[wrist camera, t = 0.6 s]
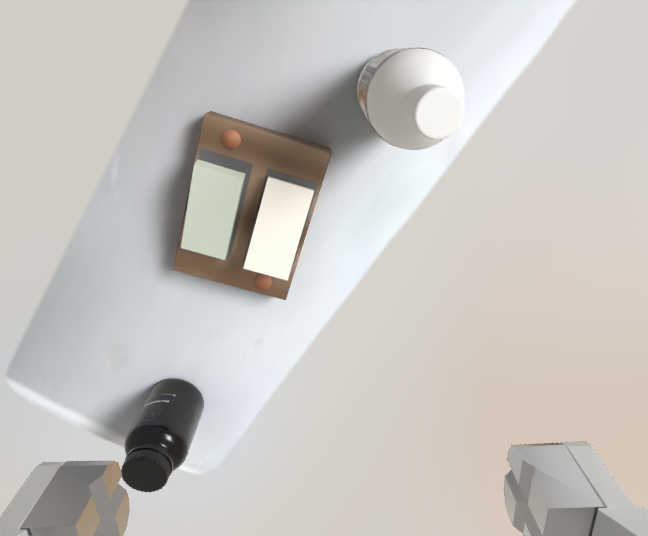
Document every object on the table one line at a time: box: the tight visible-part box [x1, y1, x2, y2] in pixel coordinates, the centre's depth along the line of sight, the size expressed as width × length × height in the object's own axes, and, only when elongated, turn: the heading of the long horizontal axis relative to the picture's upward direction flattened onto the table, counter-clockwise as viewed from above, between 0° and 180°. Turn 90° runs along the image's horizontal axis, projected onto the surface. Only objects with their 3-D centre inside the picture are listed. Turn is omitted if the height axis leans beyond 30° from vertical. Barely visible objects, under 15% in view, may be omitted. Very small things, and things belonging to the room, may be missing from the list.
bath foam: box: [357, 48, 465, 150], centre depth 37 cm, size 7×7×20 cm
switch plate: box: [173, 111, 331, 300], centre depth 49 cm, size 16×12×4 cm
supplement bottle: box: [121, 379, 204, 492], centre depth 55 cm, size 7×7×12 cm
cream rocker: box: [244, 176, 314, 281], centre depth 46 cm, size 9×4×1 cm, turn 163°
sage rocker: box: [181, 160, 246, 260], centre depth 46 cm, size 9×4×1 cm, turn 163°
